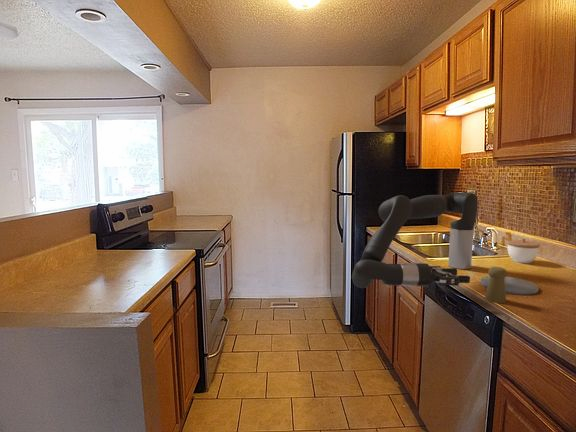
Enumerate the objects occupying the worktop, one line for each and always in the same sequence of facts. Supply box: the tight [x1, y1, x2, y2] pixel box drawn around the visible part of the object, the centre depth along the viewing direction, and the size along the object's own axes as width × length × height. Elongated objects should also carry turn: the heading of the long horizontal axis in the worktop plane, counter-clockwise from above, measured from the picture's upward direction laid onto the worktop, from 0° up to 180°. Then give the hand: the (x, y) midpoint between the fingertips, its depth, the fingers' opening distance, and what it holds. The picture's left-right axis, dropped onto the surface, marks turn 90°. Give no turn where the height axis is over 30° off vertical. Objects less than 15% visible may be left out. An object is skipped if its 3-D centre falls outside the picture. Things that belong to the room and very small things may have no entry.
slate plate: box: [480, 275, 539, 296], centre depth 129 cm, size 18×18×1 cm
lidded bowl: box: [507, 238, 541, 264], centre depth 164 cm, size 13×13×11 cm
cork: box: [484, 266, 508, 304], centre depth 115 cm, size 6×6×11 cm
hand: (462, 275), depth 114 cm, fingers open, 8 cm apart
